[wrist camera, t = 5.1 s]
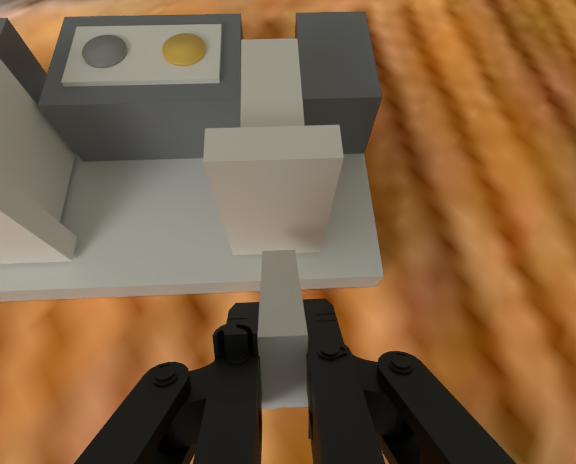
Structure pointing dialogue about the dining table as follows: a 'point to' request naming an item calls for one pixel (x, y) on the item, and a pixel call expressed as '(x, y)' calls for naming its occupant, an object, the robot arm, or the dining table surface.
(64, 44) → the console
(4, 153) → the grey l-shaped block
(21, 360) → the dining table surface
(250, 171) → the pale grey tall block
